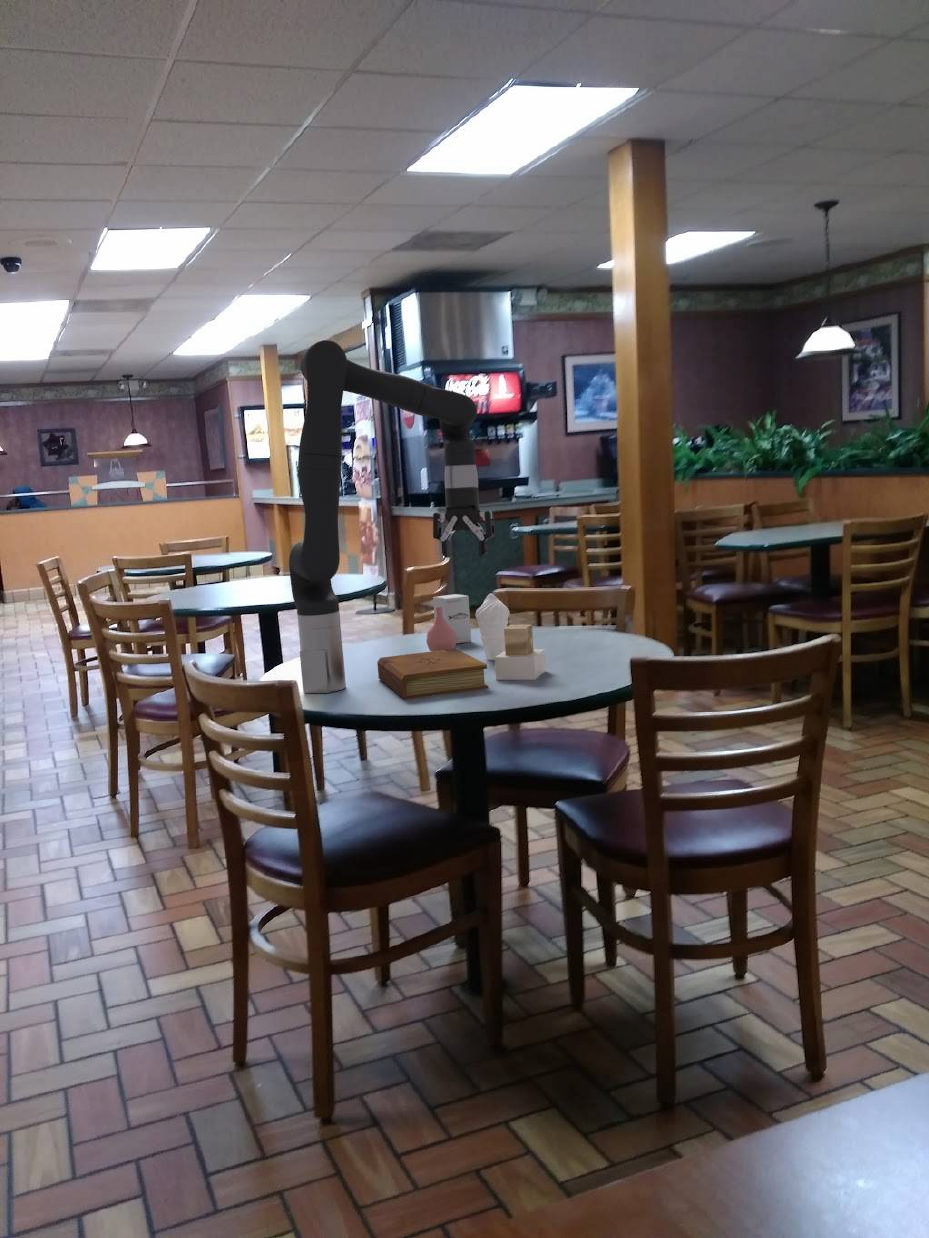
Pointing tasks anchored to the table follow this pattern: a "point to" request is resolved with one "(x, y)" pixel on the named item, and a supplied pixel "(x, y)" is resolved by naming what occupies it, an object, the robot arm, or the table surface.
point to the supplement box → (455, 614)
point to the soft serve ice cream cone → (492, 625)
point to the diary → (432, 673)
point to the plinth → (520, 666)
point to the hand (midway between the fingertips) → (464, 557)
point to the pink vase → (440, 634)
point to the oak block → (518, 640)
